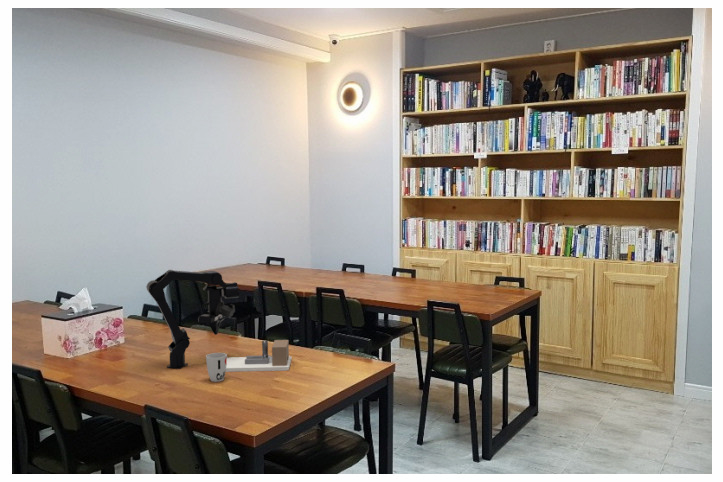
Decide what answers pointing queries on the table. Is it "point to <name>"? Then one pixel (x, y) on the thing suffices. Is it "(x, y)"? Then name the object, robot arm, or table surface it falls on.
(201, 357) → the table surface
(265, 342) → the bolt
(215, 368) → the cup
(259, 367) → the base
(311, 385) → the table surface
